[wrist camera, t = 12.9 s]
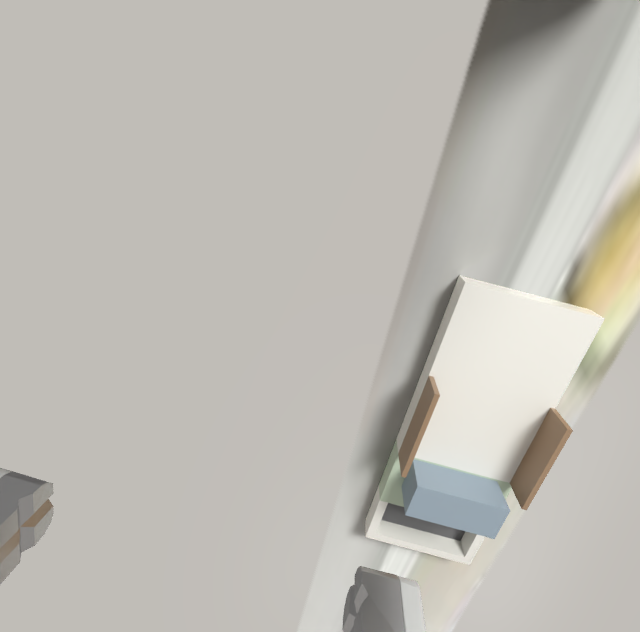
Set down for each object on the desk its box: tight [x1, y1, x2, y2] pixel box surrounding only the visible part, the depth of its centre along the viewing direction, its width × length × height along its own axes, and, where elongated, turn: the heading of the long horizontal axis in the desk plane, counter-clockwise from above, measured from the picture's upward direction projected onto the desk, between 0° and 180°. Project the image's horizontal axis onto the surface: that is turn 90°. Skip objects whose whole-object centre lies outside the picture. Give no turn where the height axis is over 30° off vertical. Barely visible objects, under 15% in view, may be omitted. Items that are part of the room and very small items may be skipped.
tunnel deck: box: [365, 275, 605, 565], centre depth 41 cm, size 33×13×6 cm, turn 166°
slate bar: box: [402, 459, 510, 539], centre depth 42 cm, size 4×10×4 cm, turn 77°
